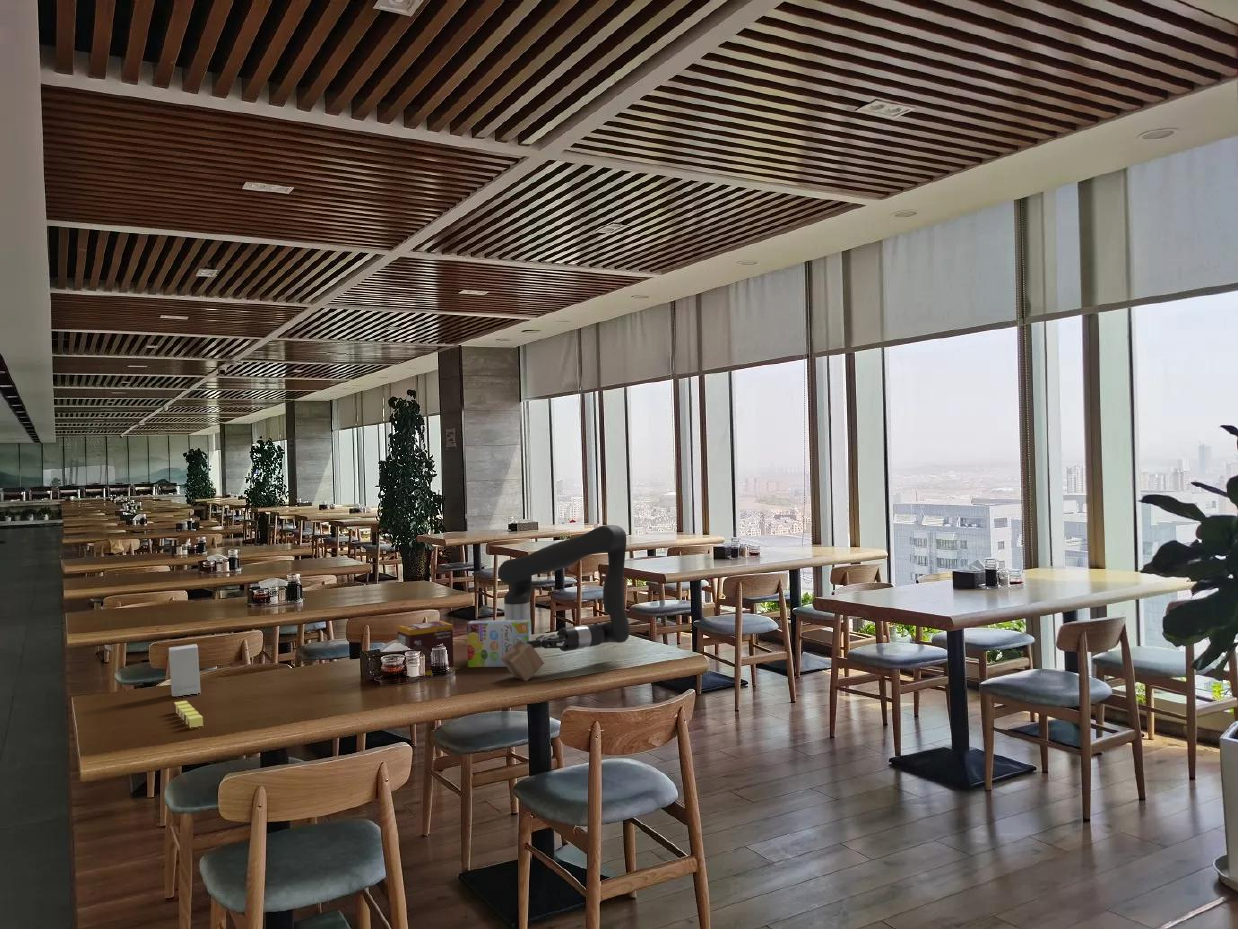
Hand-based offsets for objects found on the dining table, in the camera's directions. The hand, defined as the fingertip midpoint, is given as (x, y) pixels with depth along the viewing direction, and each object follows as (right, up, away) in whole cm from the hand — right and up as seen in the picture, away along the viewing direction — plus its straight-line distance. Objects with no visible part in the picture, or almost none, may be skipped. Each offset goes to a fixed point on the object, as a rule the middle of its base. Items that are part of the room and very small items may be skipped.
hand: (528, 645), depth 293 cm
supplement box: (-35, -12, +12) cm, 38 cm away
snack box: (-11, -11, +19) cm, 25 cm away
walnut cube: (+1, -2, +1) cm, 3 cm away
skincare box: (-104, -14, -9) cm, 105 cm away
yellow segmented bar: (-91, -14, -40) cm, 100 cm away
